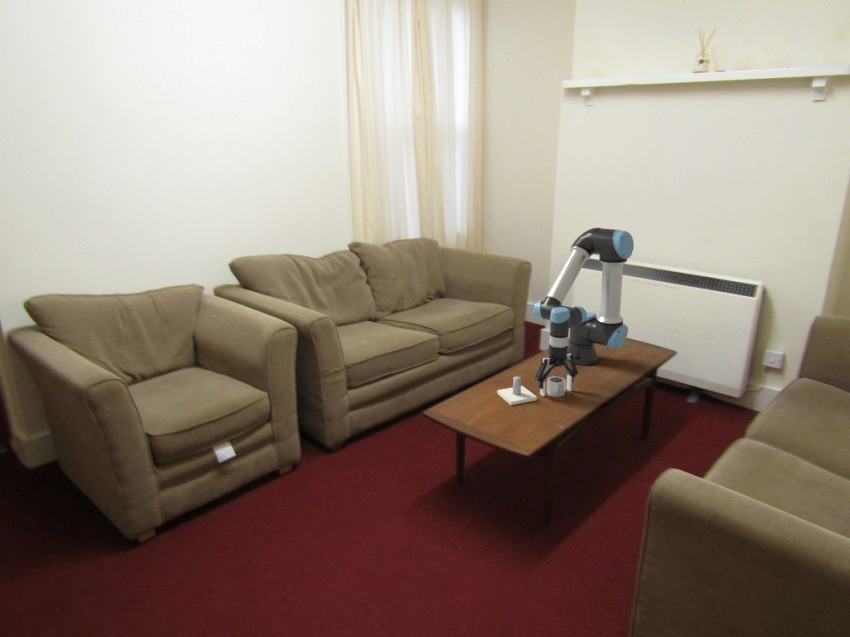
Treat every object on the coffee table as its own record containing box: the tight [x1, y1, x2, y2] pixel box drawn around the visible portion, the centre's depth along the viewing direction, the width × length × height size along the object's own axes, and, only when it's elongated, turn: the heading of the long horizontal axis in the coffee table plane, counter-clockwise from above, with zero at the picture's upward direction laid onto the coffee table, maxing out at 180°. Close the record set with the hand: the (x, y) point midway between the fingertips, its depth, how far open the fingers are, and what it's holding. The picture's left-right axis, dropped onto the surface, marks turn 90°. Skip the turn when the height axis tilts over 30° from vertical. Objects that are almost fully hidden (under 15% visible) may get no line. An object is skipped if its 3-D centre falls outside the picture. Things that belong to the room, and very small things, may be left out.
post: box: [496, 376, 538, 406], centre depth 235 cm, size 12×12×8 cm
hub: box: [545, 375, 567, 398], centre depth 238 cm, size 7×7×6 cm
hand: (555, 392), depth 239 cm, fingers open, 12 cm apart
